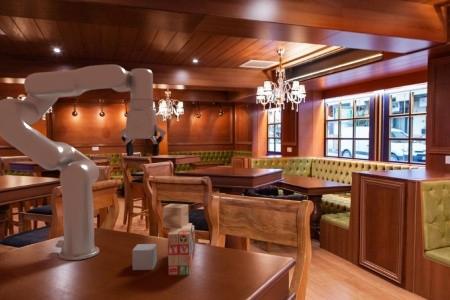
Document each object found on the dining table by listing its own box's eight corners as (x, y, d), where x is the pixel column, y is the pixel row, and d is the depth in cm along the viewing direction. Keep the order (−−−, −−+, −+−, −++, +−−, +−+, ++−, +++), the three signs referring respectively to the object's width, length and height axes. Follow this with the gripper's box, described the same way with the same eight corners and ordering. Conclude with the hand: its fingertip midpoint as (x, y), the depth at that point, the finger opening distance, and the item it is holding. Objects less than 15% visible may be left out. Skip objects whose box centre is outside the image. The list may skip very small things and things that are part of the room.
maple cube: (163, 226, 106) (162, 207, 106) (171, 222, 112) (170, 203, 112) (181, 227, 104) (181, 208, 104) (188, 223, 110) (188, 204, 110)
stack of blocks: (177, 251, 120) (176, 216, 120) (195, 251, 120) (194, 216, 120) (167, 276, 99) (167, 233, 98) (189, 275, 99) (189, 233, 98)
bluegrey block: (132, 270, 103) (132, 250, 103) (137, 262, 109) (137, 244, 109) (152, 270, 103) (152, 250, 103) (156, 262, 109) (156, 244, 109)
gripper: (113, 105, 117) (114, 156, 117) (160, 103, 112) (160, 156, 112) (125, 107, 124) (126, 155, 124) (169, 106, 119) (170, 155, 120)
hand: (142, 155), depth 118 cm, fingers open, 9 cm apart
